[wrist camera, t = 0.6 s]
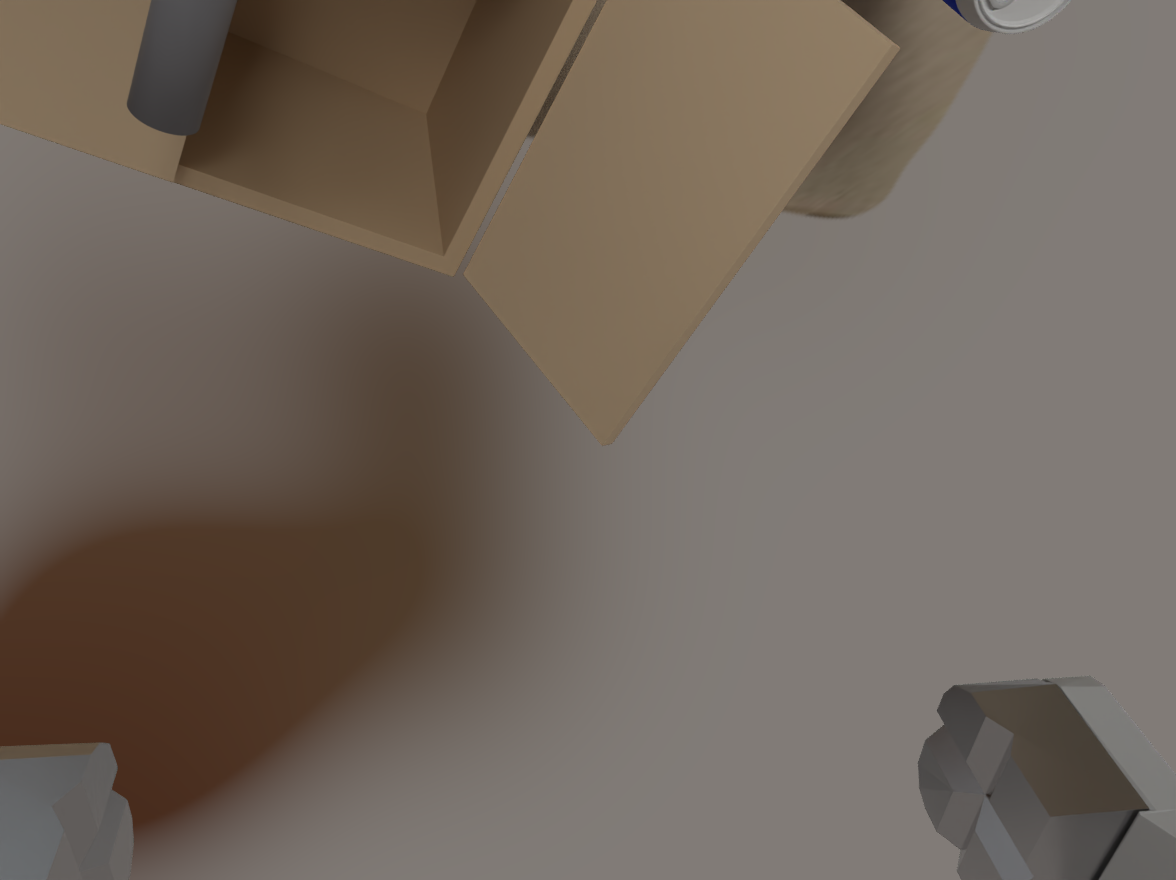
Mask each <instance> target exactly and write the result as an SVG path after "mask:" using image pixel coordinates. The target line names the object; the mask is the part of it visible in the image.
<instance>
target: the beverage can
mask: <svg viewBox="0 0 1176 880" xmlns="http://www.w3.org/2000/svg"><path fill="white" fill-rule="evenodd" d="M943 1H944V2H945V3H946V4H947V5H949V6H950V7H951V8H952V9H953V10H954V11H956V12H957V13H958V14H959V15H960V16H961V17H963V18H964V19H965V20H966V21H967V22H969V23H970V24H971V25H973V26H974V27H976V28H979V29H981V30H985V31H990V32H998V33H1004V34H1017V33H1023V32H1026V31H1029V30H1033V29H1035V28H1037V27H1039V26H1041V25H1043V24H1045V23H1046V22H1048V21H1049V20H1051V19H1052V18H1054V17H1055V16H1056V15H1057V14H1059V13H1060V12H1061V11H1062V10H1063V9H1064V8H1065V7H1066V6H1067V5H1068V3H1069V2H1070V1H1071V0H943Z"/></svg>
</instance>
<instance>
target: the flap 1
mask: <svg viewBox="0 0 1176 880" xmlns="http://www.w3.org/2000/svg"><path fill="white" fill-rule="evenodd" d="M236 3H237V0H0V124H2V125H4V126H7V127H10V128H13V129H16V130H19V131H22V132H25V133H28V134H31V135H34V136H37V137H40V138H43V139H46V140H49V141H52V142H55V143H57V144H61V145H64V146H66V147H69V148H72V149H75V150H78V151H81V152H84V153H87V154H90V155H93V156H96V157H99V158H102V159H105V160H108V161H111V162H114V163H117V164H119V165H123V166H126V167H129V168H131V169H135V170H137V171H140V172H143V173H146V174H149V175H152V176H155V177H158V178H161V179H164V180H167V181H170V182H173V181H174V178H175V174H176V171H177V167H178V164H179V160H180V157H181V153H182V150H183V146H184V142H185V139H186V136H187V135H192V134H195V133H197V132H198V131H199V129H200V126H201V122H202V119H203V115H204V112H205V109H206V105H207V102H208V98H209V95H210V92H211V88H212V85H213V81H214V78H215V74H216V71H217V68H218V64H219V61H220V57H221V54H222V51H223V47H224V44H225V40H226V37H227V33H228V30H229V27H230V23H231V20H232V16H233V13H234V10H235V6H236Z"/></svg>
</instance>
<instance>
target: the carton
mask: <svg viewBox="0 0 1176 880" xmlns="http://www.w3.org/2000/svg"><path fill="white" fill-rule="evenodd" d="M596 2H597V0H237V3H236V6H235V10H234V13H233V16H232V20H231V23H230V27H229V30H228V33H227V37H226V40H225V44H224V47H223V51H222V54H221V57H220V61H219V64H218V68H217V71H216V74H215V78H214V81H213V85H212V88H211V92H210V95H209V98H208V102H207V105H206V109H205V112H204V115H203V119H202V122H201V126H200V129H199V131H198V132H197V133H195V134H192V135H187V136H186V139H185V142H184V146H183V150H182V153H181V157H180V160H179V164H178V167H177V171H176V174H175V178H174V181H173V182H174V183H177V184H180V185H184V186H186V187H189V188H192V189H195V190H198V191H201V192H204V193H207V194H210V195H213V196H216V197H219V198H222V199H225V200H228V201H231V202H233V203H237V204H239V205H242V206H245V207H248V208H251V209H254V210H257V211H260V212H263V213H266V214H269V215H272V216H275V217H278V218H281V219H284V220H287V221H289V222H292V223H296V224H299V225H301V226H304V227H307V228H311V229H313V230H316V231H319V232H322V233H325V234H328V235H331V236H334V237H337V238H340V239H343V240H346V241H348V242H351V243H355V244H357V245H360V246H363V247H366V248H370V249H372V250H375V251H378V252H381V253H384V254H387V255H390V256H393V257H396V258H399V259H402V260H405V261H408V262H410V263H413V264H416V265H419V266H422V267H425V268H428V269H431V270H434V271H437V272H440V273H443V274H446V275H449V276H452V277H454V275H455V274H456V272H457V270H458V268H459V266H460V264H461V262H462V260H463V258H464V256H465V254H466V253H467V250H468V249H469V247H470V245H471V243H472V241H473V239H474V237H475V235H476V233H477V231H478V229H479V227H480V225H481V224H482V222H483V220H484V218H485V216H486V214H487V212H488V210H489V208H490V206H491V204H492V202H493V200H494V199H495V196H496V195H497V193H498V191H499V189H500V187H501V185H502V183H503V181H504V179H505V177H506V175H507V173H508V171H509V169H510V168H511V166H512V164H513V162H514V160H515V158H516V156H517V154H518V152H519V150H520V148H521V146H522V144H523V143H524V141H525V139H526V137H527V135H528V133H529V131H530V129H531V127H532V125H533V123H534V121H535V119H536V117H537V116H538V114H539V112H540V110H541V108H542V106H543V104H544V102H545V100H546V98H547V96H548V94H549V92H550V90H551V88H552V87H553V85H554V83H555V81H556V79H557V77H558V75H559V73H560V71H561V69H562V67H563V65H564V63H565V61H566V60H567V58H568V56H569V54H570V52H571V50H572V48H573V46H574V44H575V42H576V40H577V38H578V36H579V34H580V33H581V31H582V29H583V27H584V25H585V23H586V21H587V19H588V17H589V15H590V13H591V11H592V9H593V7H594V6H595V4H596Z"/></svg>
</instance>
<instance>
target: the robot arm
mask: <svg viewBox="0 0 1176 880" xmlns="http://www.w3.org/2000/svg"><path fill="white" fill-rule="evenodd" d="M937 712H938V714H939V715H940V717H941V719H942V721H943V722H944V725H943V726H942V727H941V728H940V729H938V730H937V731H936V732H935V733H933V734H932V735H931V736H930V737H929V738H927V739H926V740H925V743H924V746H923V749H922V752H921V755H920V758H919V761H918V770H919V789H920V792H921V795H922V799H923V802H924V806H925V809H926V811H927V813H928V815H929V817H930V819H931V821H932V823H933V825H934V827H935V829H936V831H937V832H938V833H939V834H941V835H942V836H943V837H945V838H946V839H947V840H949V841H950V842H951V843H952V844H954V845H955V846H956V847H958V848H959V849H960V856H959V862H958V867H957V872H958V874H959V876H960V878H961V880H1176V774H1175V773H1174V772H1173V770H1172V769H1171V768H1170V767H1169V766H1168V764H1167V763H1166V762H1165V760H1164V759H1163V758H1162V757H1161V755H1160V754H1159V753H1158V752H1157V750H1156V749H1155V748H1154V747H1153V745H1152V744H1151V743H1150V742H1149V740H1148V739H1147V738H1146V737H1145V735H1144V734H1143V733H1142V732H1141V730H1140V729H1139V728H1138V727H1137V726H1136V724H1135V723H1134V722H1133V720H1132V719H1131V718H1130V717H1129V715H1128V714H1127V713H1126V712H1125V710H1124V709H1123V708H1122V707H1121V705H1120V704H1119V703H1118V702H1117V700H1116V699H1115V698H1114V697H1113V695H1112V694H1111V693H1110V692H1109V691H1108V689H1107V688H1106V687H1105V686H1104V685H1103V684H1102V683H1101V682H1099V681H1097V680H1096V679H1094V678H1093V677H1091V676H1081V677H1066V678H1051V679H1043V680H1039V679H1026V680H1014V681H1002V682H991V683H990V682H989V683H976V684H963V685H954V686H953V687H951V688H950V689H949V690H948V691H946V692H945V693H944V695H943V697H942V699H941V702H940V705H939V707H938V709H937ZM117 769H118V767H117V764H116V761H115V758H114V755H113V752H112V749H111V746H110V744H109V743H108V744H107V743H81V744H80V743H79V744H54V745H30V746H5V747H0V880H129V877H130V872H131V862H132V853H133V843H134V838H133V825H132V816H131V812H130V809H129V805H128V801H127V800H126V799H125V798H124V797H122V796H120V795H119V794H117V793H116V792H114V791H113V790H111V788H112V785H113V782H114V779H115V775H116V772H117Z"/></svg>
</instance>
